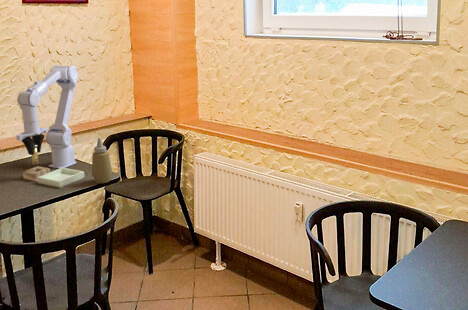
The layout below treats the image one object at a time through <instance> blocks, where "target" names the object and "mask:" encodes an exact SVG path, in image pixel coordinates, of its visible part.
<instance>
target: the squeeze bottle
mask: <svg viewBox="0 0 468 310" xmlns="http://www.w3.org/2000/svg"><path fill="white" fill-rule="evenodd" d="M93 151H94V152H92V155H91V156H92V157H91V159H92V160H91V175H92V177H93V180H94V181H95V183H97V184H105V183H106V184H107V183H110V181H111V178H112V175H113V170H112V164H111V158H110V152H108V151H107V147H106V146H105V145H103V141H102V138H101V137H99V138H97V143H96V146H94V148H93Z"/></svg>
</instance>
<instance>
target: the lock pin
mask: <svg viewBox="0 0 468 310" xmlns="http://www.w3.org/2000/svg"><path fill="white" fill-rule="evenodd" d="M37 147H38V144H33V149H34V154H33V155H31V161H32V163H31V164H32V165H38V164H39V152H37Z"/></svg>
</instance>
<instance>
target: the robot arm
mask: <svg viewBox="0 0 468 310" xmlns="http://www.w3.org/2000/svg"><path fill="white" fill-rule="evenodd" d="M78 78H79V72H78V70H77V68H76V66H74V65H58V64H54V65H53V66H52V67H51V68H50V71H49V73H47V74H46V76H45V77H44V78H43V79H42V80H35V81H34V82H33V84H32V85H31V86H30V87H28V88H27V89H26V90H23V91H20V92H19V93H18V95H17V99H16V101H17V104H18V105H19V109H20V110H21V114H22V115H21V116H22V121H23V130H24V131H23V132H21V133H19V134H17V135H15V137H16V141H19V142H22V143H23V144H24V145H23V146H25V149H26V151H27V153H28V155H31V156H32V155H33V154H34V149H33V144H38V147H37V152H38V153H41V149H42V144H43V141H44V139H45V141H46V143H47V144H48V146H49V148H50V151H51V159H52V161H51V162H52V163H51V164H49V165H48V168H49V167H50V168H55V169H60V168H68V167H71V166H73V165H76V164H77V161H76V157H75V149H74V147H73V145H72V144H71V143H72V133H73V131H72V129H71V128H70V127H69V126H68V124H69V119H70V115H71V110H72V104H73V100H74V96H75V95H74V94H75V91H76V90H75V89H76V86H77V83H78ZM54 83H56V84H57V85H58V86H59V87H61V92H60V97H59V101H58V106H57V111H56V116H55V121H54V123H53V124H51V125H50V126H49V127H40V125H39V124H40V123H39V116H38V107H37V106H38V105H39V103H40V100H41V98H42V97H43V96H44V95H45V94H46V93H48V90H49V87H50V86H52V85H53V84H54ZM45 134H46V135H45Z"/></svg>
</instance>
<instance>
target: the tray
mask: <svg viewBox="0 0 468 310" xmlns="http://www.w3.org/2000/svg"><path fill="white" fill-rule="evenodd" d="M84 178H86V177H85V171H84V170H77V169H71V168H68V167H66V168H60V169H59V168H56V169H55V170H53V171H50V173H47V174H44V175H42V176H39V177H37V181H36V182H37V184H39V185H44V186H49V187H54V188H60V189H61V188H63V187H65V186H68V185H70V184H73V183H75V182H78V181H79V180H81V179H84Z"/></svg>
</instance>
